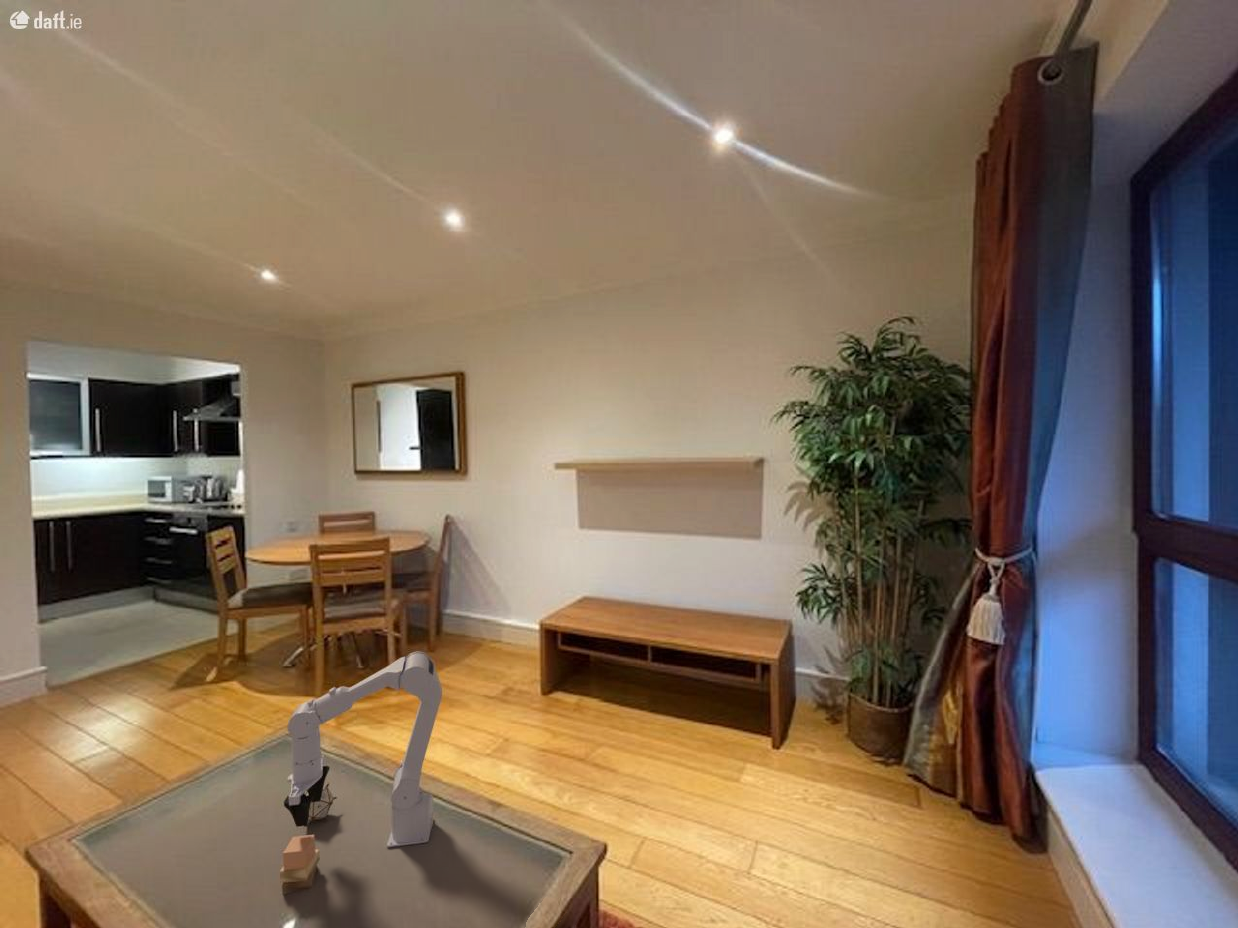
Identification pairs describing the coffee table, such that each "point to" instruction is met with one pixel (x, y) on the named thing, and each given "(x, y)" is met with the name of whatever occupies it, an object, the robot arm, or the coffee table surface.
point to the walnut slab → (298, 884)
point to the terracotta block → (299, 852)
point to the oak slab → (300, 871)
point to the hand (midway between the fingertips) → (308, 812)
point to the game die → (321, 805)
